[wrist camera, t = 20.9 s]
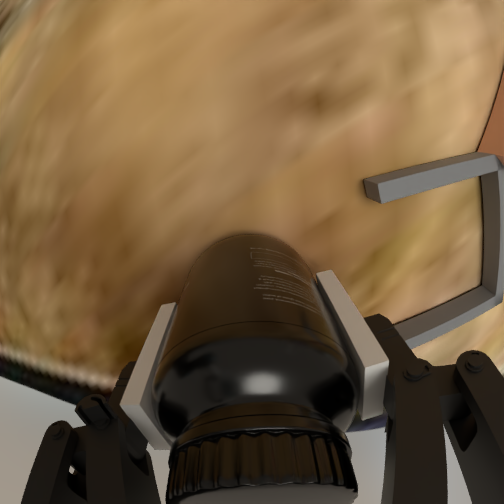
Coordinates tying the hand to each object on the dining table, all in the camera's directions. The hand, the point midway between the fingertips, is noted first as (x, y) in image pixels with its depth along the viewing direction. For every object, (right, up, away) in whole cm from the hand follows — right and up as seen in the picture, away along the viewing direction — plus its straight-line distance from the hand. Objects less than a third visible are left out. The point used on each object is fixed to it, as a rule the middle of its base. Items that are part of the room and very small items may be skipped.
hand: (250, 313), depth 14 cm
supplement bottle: (0, +1, +2) cm, 2 cm away
